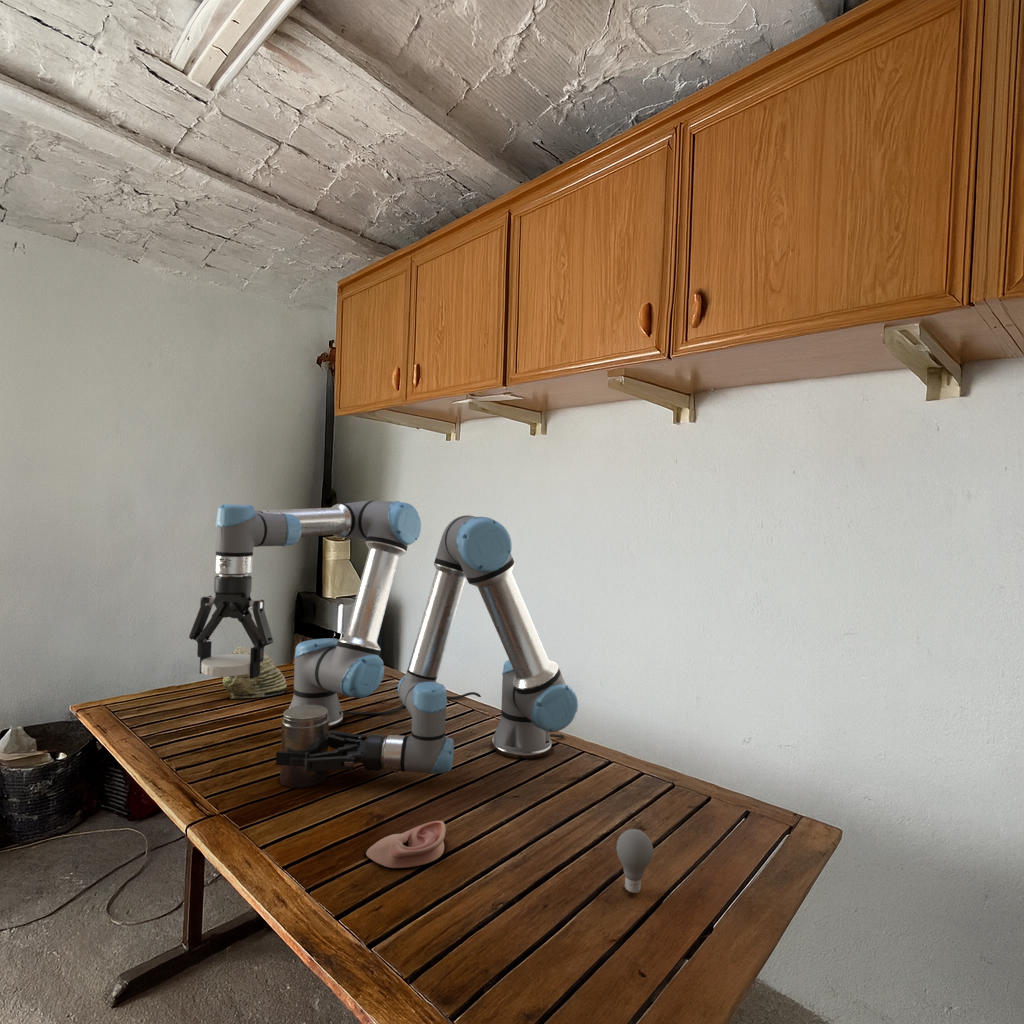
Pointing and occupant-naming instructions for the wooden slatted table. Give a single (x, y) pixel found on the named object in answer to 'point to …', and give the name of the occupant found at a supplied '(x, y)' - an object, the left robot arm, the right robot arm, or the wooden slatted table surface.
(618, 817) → the wooden slatted table surface
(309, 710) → the jar
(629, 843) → the light bulb
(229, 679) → the fossil
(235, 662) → the lid
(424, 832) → the anatomical model
